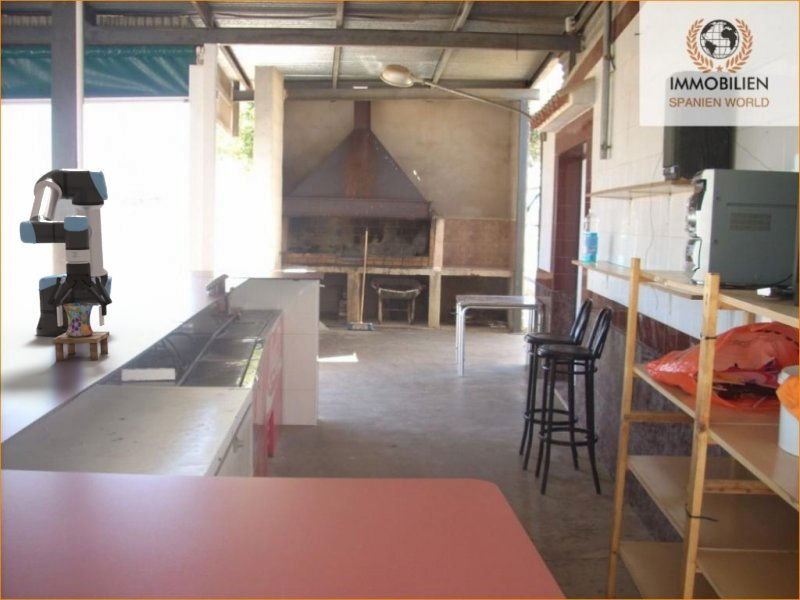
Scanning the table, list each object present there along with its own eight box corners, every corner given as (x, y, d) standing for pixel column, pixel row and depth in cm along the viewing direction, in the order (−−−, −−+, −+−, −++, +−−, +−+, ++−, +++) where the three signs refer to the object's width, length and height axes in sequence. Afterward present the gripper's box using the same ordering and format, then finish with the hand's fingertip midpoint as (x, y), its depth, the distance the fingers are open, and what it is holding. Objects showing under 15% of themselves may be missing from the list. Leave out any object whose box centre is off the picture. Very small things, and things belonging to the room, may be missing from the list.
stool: (68, 352, 264) (67, 331, 263) (110, 352, 265) (109, 331, 264) (53, 361, 250) (52, 339, 250) (97, 360, 252) (96, 338, 251)
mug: (95, 337, 254) (94, 305, 252) (65, 339, 250) (63, 307, 248) (93, 331, 264) (92, 301, 263) (64, 333, 260) (62, 302, 259)
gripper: (34, 263, 249) (38, 327, 252) (113, 263, 251) (115, 327, 254) (43, 261, 257) (47, 323, 259) (119, 261, 258) (122, 323, 261)
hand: (81, 325), depth 257 cm, fingers open, 13 cm apart
